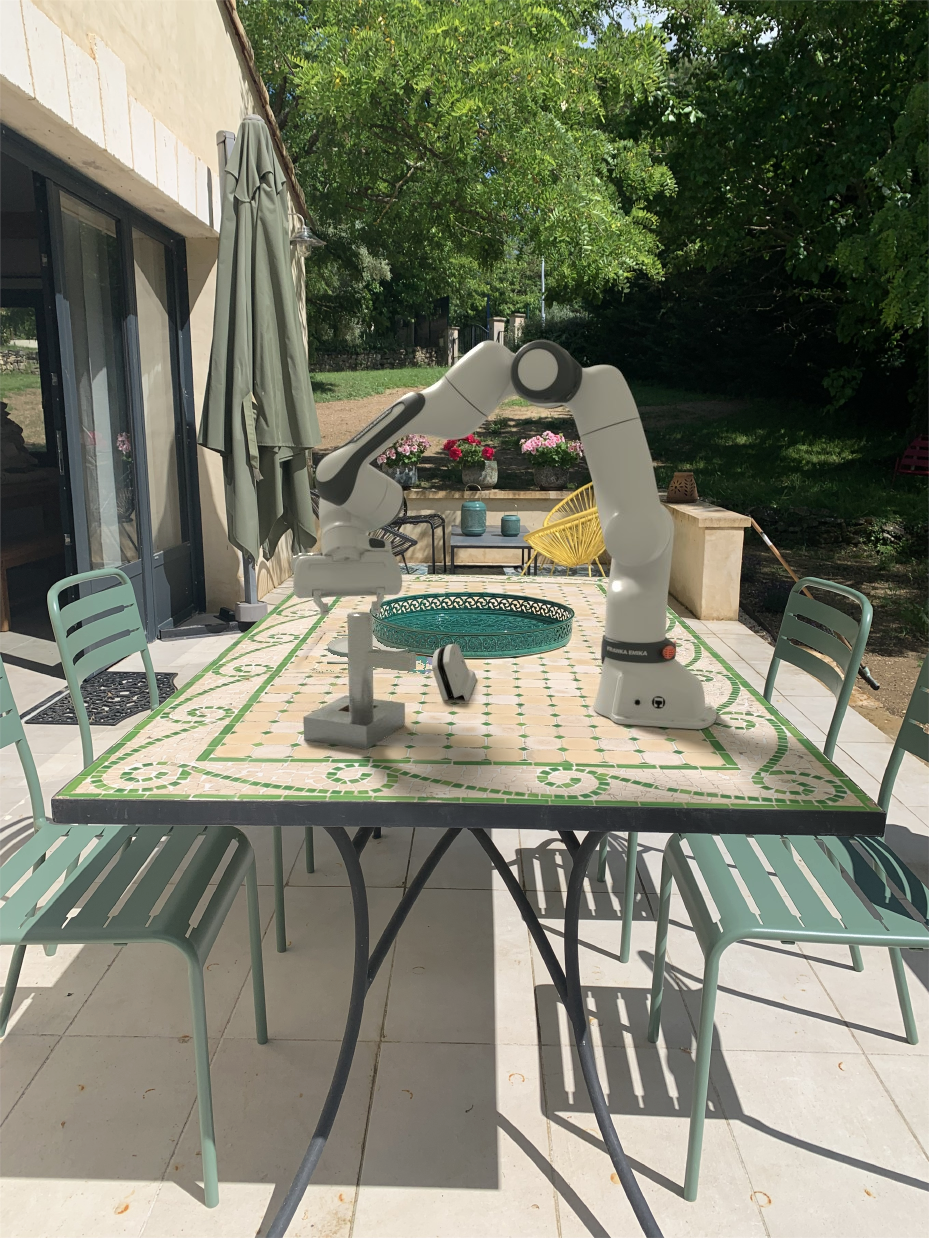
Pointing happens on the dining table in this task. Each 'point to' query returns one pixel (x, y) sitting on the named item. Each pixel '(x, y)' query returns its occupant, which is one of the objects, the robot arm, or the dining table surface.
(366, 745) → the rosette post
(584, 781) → the dining table surface
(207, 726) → the dining table surface
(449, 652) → the grey rounded block
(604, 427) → the robot arm
